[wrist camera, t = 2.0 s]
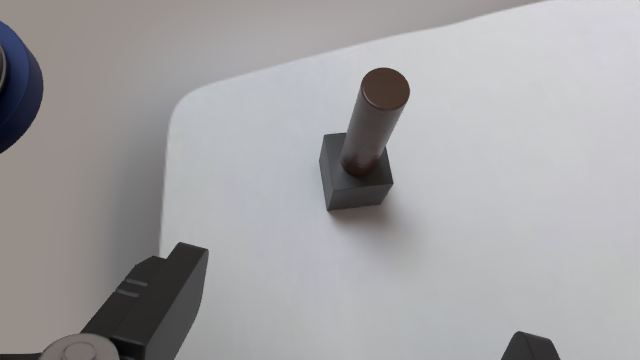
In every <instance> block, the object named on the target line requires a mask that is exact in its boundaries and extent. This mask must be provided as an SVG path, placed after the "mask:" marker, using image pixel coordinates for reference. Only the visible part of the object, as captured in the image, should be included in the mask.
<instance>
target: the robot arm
mask: <svg viewBox="0 0 640 360" xmlns="http://www.w3.org/2000/svg"><path fill="white" fill-rule="evenodd" d="M9 75H10V65H9V60H8V56H7V53H6V51H5V49H4V48H3V46H2V45H1V43H0V100H1V98H2V96H3V94H4V92H5V90H6V88H7V85H8V81H9ZM208 255H209V251H208V249H205V248H201V247H197V246H194V245H190V244H186V243H182V242H179V243H178V244H177V245H176V247H175V248H174V249H173V251H172V252H171V253H170V255H169V256H168V257H167V259H164V258H160V257H156V256H152V257H150V258H148V259H146V260H144V261H143V262H141V263H139V264H137V265H135V267H134V268H133V269H132V270H131V272H130V273H129V274H128V276H126V278H125V280H124V281H122V283H121V284H120V285H119V286H118V287H117V289H116V291H115V292H113V293H112V295H111V296H110V297H109V298H108V299H107V301H106V302H105V303H104V304H103V305H102V307H101V308H100V309H99V310H98V312H97V313H96V314H95V315H94V316H93V318H92V319H91V320H90V321H89V322H88V324H87V325H86V326H85V327H84V329H83V330H82V331H81V332H80V333H79V334H74V335H69V336H66V337H63V338H61V339H59V340H57V341H55V342H53V343H52V344H50V345H49V346H48V347H47V348H46V349H45V350H44V351H43V352H42V353H35V354H0V360H174V358H175V357H176V355H177V353H178V351H179V349H180V347H181V345H182V343H183V341H184V340H185V338H186V336H187V334H188V332H189V330H190V328H191V326H192V324H193V322H194V320H195V318H196V316H197V313H198V310H199V307H200V303H201V299H202V293H203V287H204V281H205V275H206V268H207V262H208ZM501 360H560V358H559V356H558V353H557V351H556V349H555V347H554V345H553V343H552V341H551V340H550V339H548V338H544V337H540V336H536V335H532V334H528V333H524V332H521V331H518V332H516V333H515V334H514V335H513V337H512V339H511V341H510V343H509V345H508V347H507V349H506V351H505V353H504V355H503V357H502V359H501Z"/></svg>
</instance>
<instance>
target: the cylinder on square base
mask: <svg viewBox="0 0 640 360" xmlns="http://www.w3.org/2000/svg"><path fill="white" fill-rule="evenodd" d="M409 95H410V88H409V84H408V82H407V80H406V79H405V77H404V76H403V75H402V74H400V73H399V72H397V71H396V70H393V69H390V68H377V69H374V70H372V71H370V72H369V73H367V74H366V75H365V77H364V78H363V80H362V83H361V86H360V90H359V93H358V96H357V100H356V103H355V107H354V110H353V113H352V117H351V120H350V124H349V127H348V130H347V133H338V134H328V135H324V139H323V144H322V149H321V154H320V159H319V163H320V170H321V176H322V182H323V189H324V195H325V201H326V208H327V211H329V210H338V209H346V208H355V207H363V206H372V205H380V204H381V203H382V201H383V199H384V198H385V196H386V195H387V193H388V191H389V190H390V188H391V187H392V185H393V179H392V174H391V169H390V165H389V160H388V155H387V150H386V144H387V142H388V140H389V138H390V136H391V134H392V131H393V129H394V127H395V125H396V123H397V121H398V119H399V117H400V115H401V113H402V111H403V109H404V107H405V105H406V103H407V101H408V99H409Z"/></svg>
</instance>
